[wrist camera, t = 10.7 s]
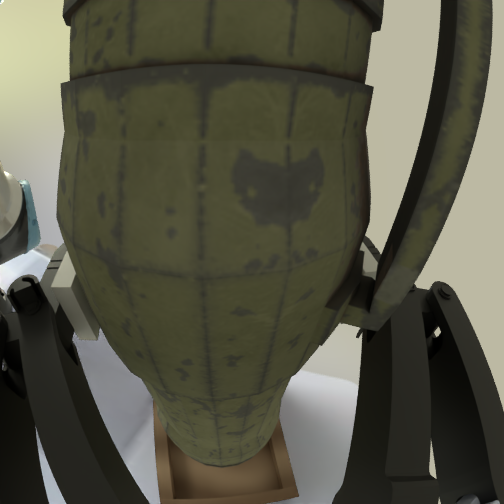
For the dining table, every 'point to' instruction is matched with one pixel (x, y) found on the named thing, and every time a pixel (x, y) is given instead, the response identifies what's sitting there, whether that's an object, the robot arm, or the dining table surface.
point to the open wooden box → (223, 474)
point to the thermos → (244, 192)
